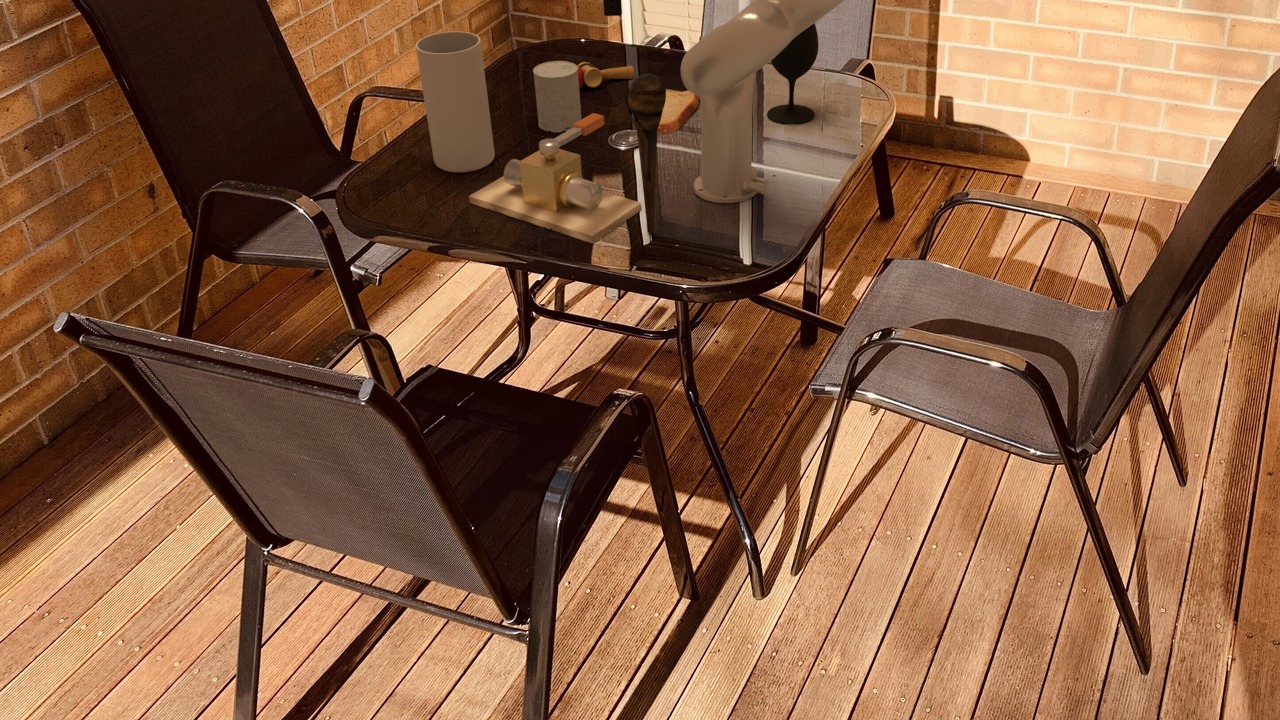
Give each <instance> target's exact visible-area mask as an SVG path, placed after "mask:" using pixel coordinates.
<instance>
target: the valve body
mask: <svg viewBox="0 0 1280 720" xmlns="http://www.w3.org/2000/svg"><path fill="white" fill-rule="evenodd" d="M581 157H582V156H581V154H579V153H574V152H571V151H567V150H564V149H561V148H559V153H558V154H556V155H552V156H544V155H541V154H540V150H537V151H536V152H534V153H532V154H530V155H528V156H527V157H524V158H523V159H521V160H519V159H516V158H513V159H510V160H509V161H508V163H507V164H506V165H505V167H504V170H503V176H504V180H505V182H506V183H507V184H509V185H512V186H515V187H519V188H522V190H523V196H524V203H527V204H530V205H533V206H536V207H539V208H543V209H546V210H549V211H552V212H555V213H558V212H559V211H561V210H563V209H564V208H566V207H575V206H580V207H583V208H586V209H589V210H594V209H596V208H597V207H598V206H599V204H600V203H601V200H602V196H603V192H604V191H603V190H604V189H603V186H602V185H601V184H600V183H598V182H595V181H590V180H588V179H584V177H583V171H582V159H581Z"/></svg>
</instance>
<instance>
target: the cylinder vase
mask: <svg viewBox="0 0 1280 720" xmlns="http://www.w3.org/2000/svg"><path fill="white" fill-rule="evenodd" d="M415 48H416V49H415V50H416V56H417V62H418V63H417V64H418V68H419V69H418V70H419V74H420V75H419V76H420V82H421V83H420V84H421V88H422V94H423V99H424V100H423V101H424V106H425V113H426V119H427V120H426V121H427V124H428V133H429V139H430V144H431V149H432V157H433V158H432V159H433V162H434V165H435V166H436V167H437V168H439V169H440V170H443V171H444V172H448V173H459V174H460V173H461V174H462V173H469V172H474V171H478V170H480V169H483V167H484V168H485V167H488V166H489V165H490V164H491V163H492V162H493V161H494V159H495V157H496V156H495V155H496V153H495V147H494V146H495V144H494V139H493V138H494V137H493V129H492V121H491V113H490V112H491V111H490V106H489V105H490V104H489V97H488V89H487V80H486V73H485V65H484V57H483V50H482V49H483V48H482V41H481V38H480V36H479V35H478V34H476V33H472V32H468V31H458V30H457V31H455V30H454V31H444V32H443V31H442V32H438V33H433V34H429V35H427V36H425V37H422V38H420V39H419V40H418V41H417V42H415Z"/></svg>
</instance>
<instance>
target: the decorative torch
mask: <svg viewBox="0 0 1280 720" xmlns="http://www.w3.org/2000/svg"><path fill="white" fill-rule="evenodd" d="M666 89H667V88H666V87H665V86H664V84H663V83H662V82H661V80H660V78H659V77H658V76H657V75H656V74H652V73H649V72H647V73H643V74H641V75H639V76H637V77H636V78H635V79H634V80H633V81H632V82H631V84H630V86H629V88H628V91H627V93H626V97H625V102H626V106H627V112H628V116H629V118H630V120H631V123H632V124H633V126H634V127H635V129H636V133H637V134H636V135H637V136H636V137H637V145H638V155H639V163H640V164H639V165H640V172H641V181H642V183H641V185H642V193H643V201H644V209H645V210H644V211H645V219H646V231H647V234H649V235H652V234H654V232H655V212H656V210H655V207H656V184H657V182H656V181H657V179H656V178H657V177H656V176H657V154H658V153H657V151H658V148H657V146H658V133H657V127H659V124H660V120H661V117H662V112H663V108H664V105H665V101H666Z"/></svg>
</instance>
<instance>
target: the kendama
mask: <svg viewBox="0 0 1280 720" xmlns="http://www.w3.org/2000/svg"><path fill="white" fill-rule="evenodd" d="M576 65H577V64H576ZM577 67H578V81H579V89H581V88H583V87H584V86H587V87H590V88H596V87H599V86H600V84H601V83H602V81H603V79H607V80H608V79H609V80H611V79H613V80H614V79H617V80H618V79H619V80H620V79H623V80H625V79H626V80H627V79H628V80H631V79H632V80H633V78H634V76H635V70H634V66H632V65H628V66H620V67H614V68H613V67H611V68H607V69H602V70H600V69H598V68H597V67H595V66H593V64H591V63H590V62H586V61H583V62H580V63H578V65H577Z"/></svg>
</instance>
